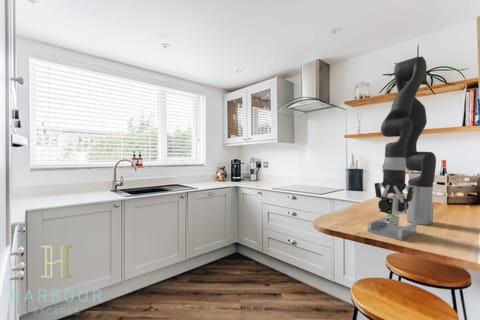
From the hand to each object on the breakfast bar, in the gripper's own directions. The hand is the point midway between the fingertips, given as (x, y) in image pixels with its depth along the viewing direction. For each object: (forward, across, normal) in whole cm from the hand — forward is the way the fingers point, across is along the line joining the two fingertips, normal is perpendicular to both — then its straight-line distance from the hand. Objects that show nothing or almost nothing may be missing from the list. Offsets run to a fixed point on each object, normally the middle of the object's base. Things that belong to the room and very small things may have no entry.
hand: (392, 209), depth 96 cm
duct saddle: (+9, 0, 0) cm, 9 cm away
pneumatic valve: (+6, 0, 0) cm, 6 cm away
